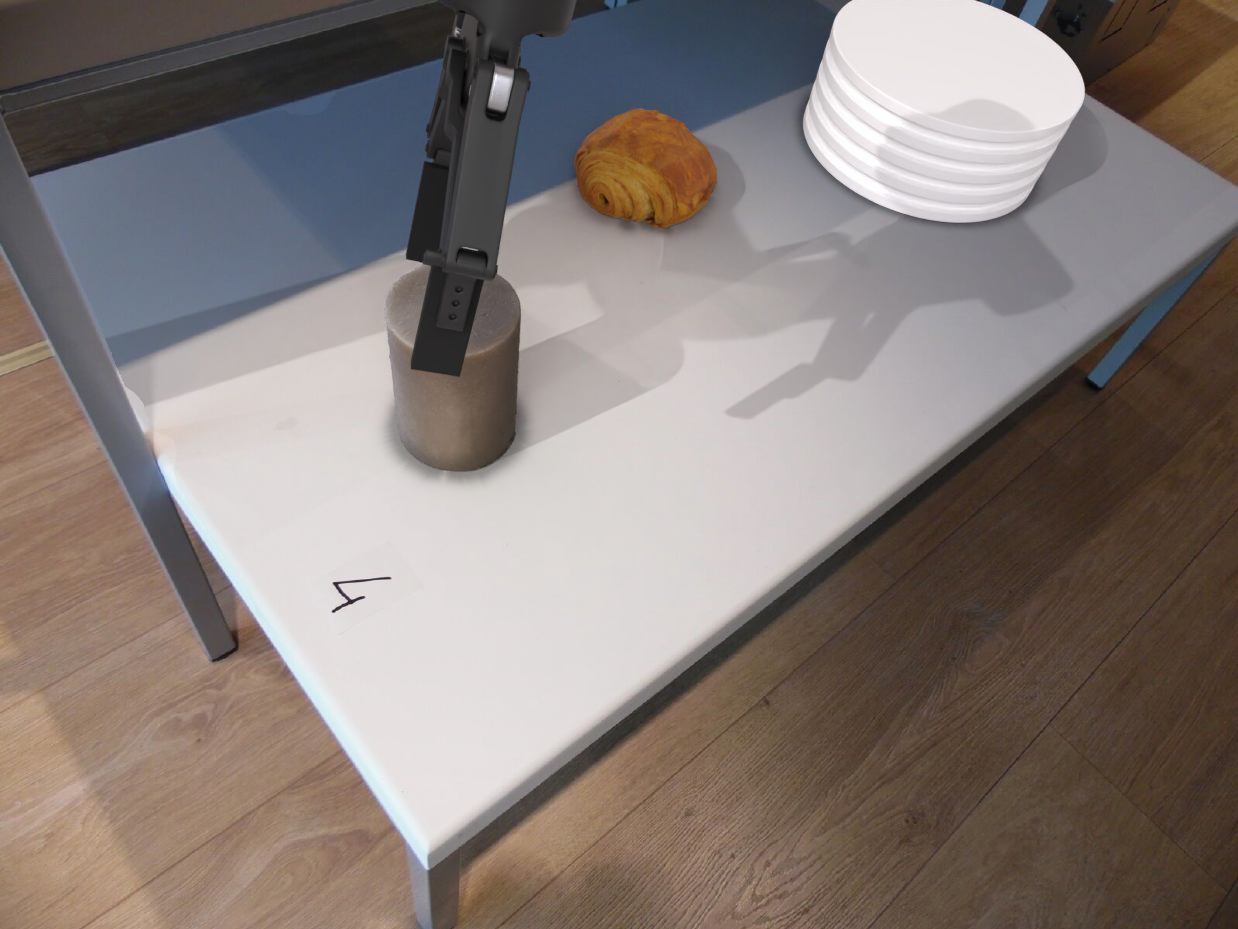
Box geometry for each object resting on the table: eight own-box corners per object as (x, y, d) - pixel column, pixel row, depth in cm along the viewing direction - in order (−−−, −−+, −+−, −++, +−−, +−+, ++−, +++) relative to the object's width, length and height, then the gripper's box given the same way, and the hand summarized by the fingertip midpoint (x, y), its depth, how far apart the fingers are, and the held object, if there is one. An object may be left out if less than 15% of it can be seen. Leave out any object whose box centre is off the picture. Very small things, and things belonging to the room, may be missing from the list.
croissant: (549, 204, 97) (545, 143, 90) (636, 127, 104) (639, 64, 97) (659, 267, 93) (664, 208, 86) (743, 182, 99) (754, 121, 92)
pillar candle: (537, 443, 76) (549, 313, 64) (431, 492, 71) (422, 362, 59) (479, 366, 80) (480, 230, 68) (375, 407, 76) (356, 270, 64)
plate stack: (800, 62, 117) (827, -29, 107) (1012, 100, 118) (1057, 12, 109) (805, 199, 100) (839, 104, 91) (1053, 241, 101) (1111, 152, 92)
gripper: (641, 11, 36) (511, 439, 48) (552, -86, 55) (475, 236, 67) (452, -50, 34) (364, 418, 45) (427, -129, 53) (369, 214, 64)
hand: (430, 310), depth 56 cm, fingers open, 13 cm apart
